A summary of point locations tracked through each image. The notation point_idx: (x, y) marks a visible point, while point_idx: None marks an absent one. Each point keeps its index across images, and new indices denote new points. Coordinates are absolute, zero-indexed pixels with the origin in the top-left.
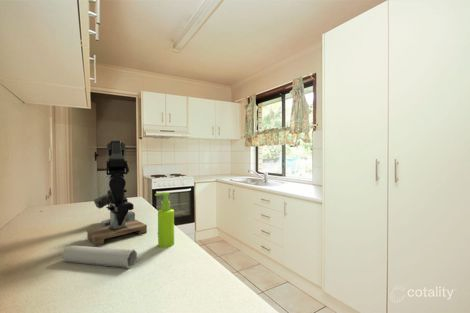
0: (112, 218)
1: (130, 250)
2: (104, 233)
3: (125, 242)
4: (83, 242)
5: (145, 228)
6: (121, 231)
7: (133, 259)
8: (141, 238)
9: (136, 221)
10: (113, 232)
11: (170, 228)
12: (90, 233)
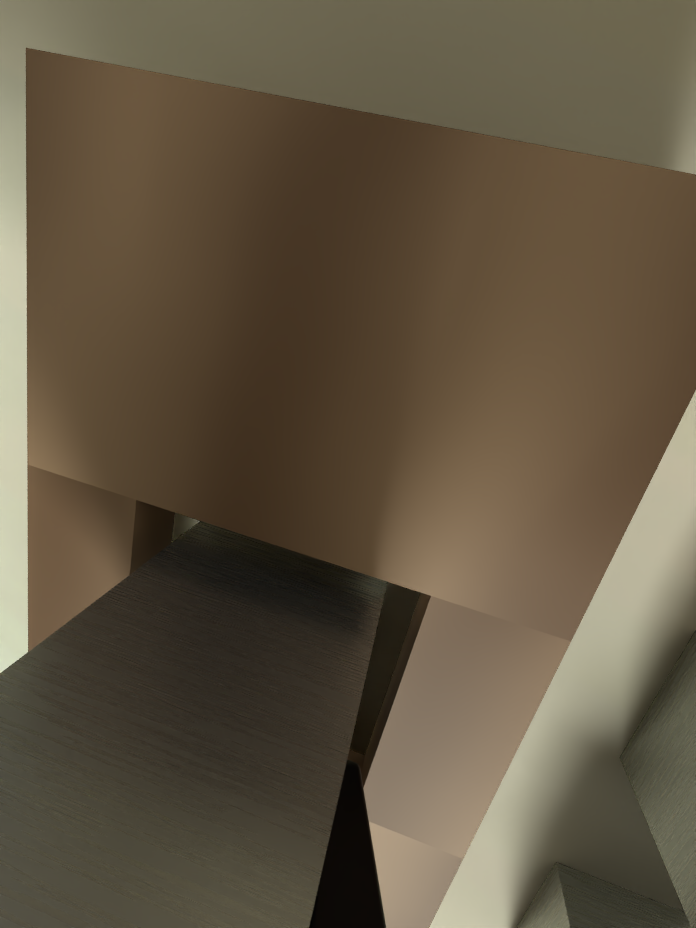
0: (51, 795)
1: None
2: (125, 327)
3: (13, 466)
4: (548, 101)
5: None
6: (35, 560)
7: None
8: (4, 620)
9: None
10: (48, 452)
11: None
12: (418, 123)
